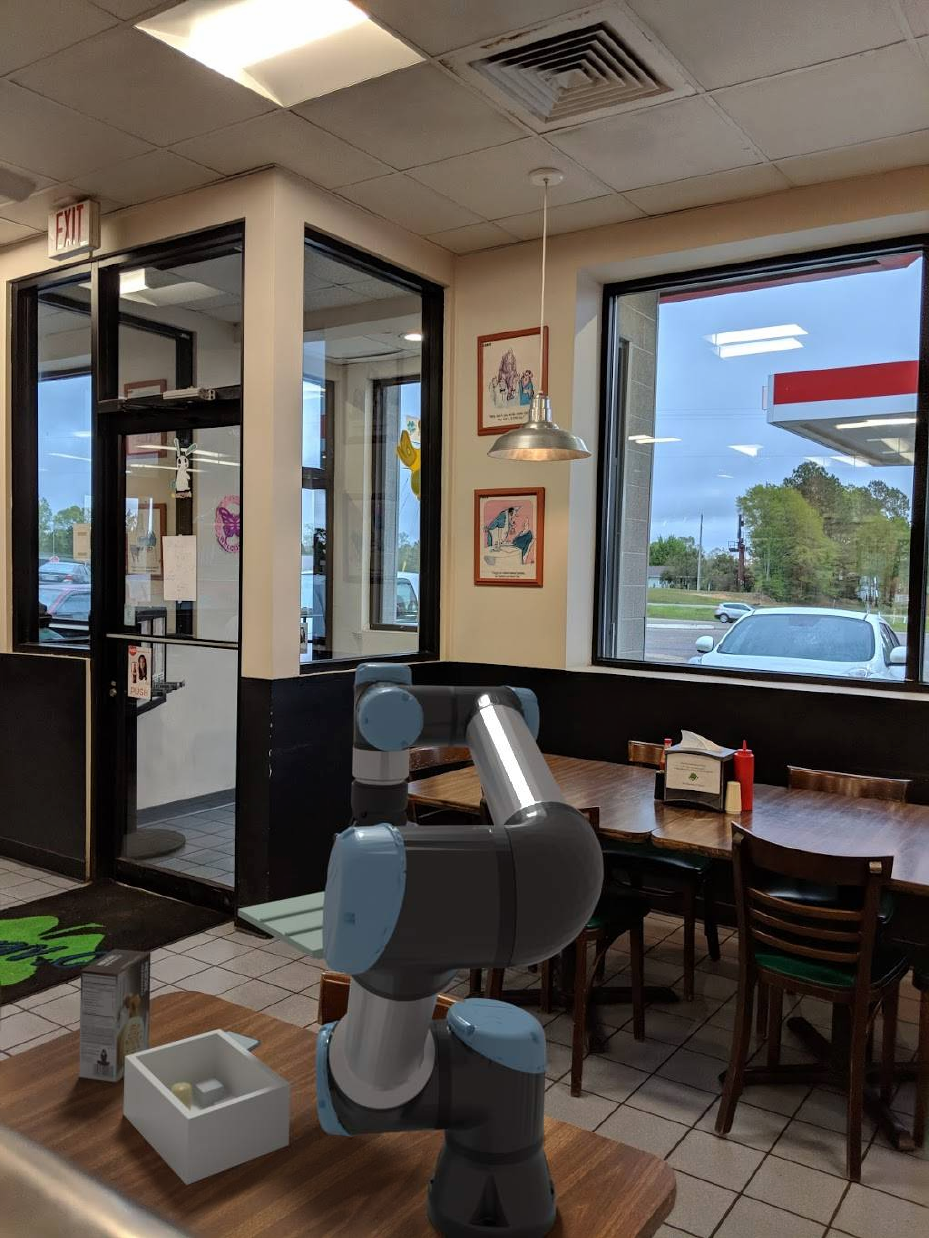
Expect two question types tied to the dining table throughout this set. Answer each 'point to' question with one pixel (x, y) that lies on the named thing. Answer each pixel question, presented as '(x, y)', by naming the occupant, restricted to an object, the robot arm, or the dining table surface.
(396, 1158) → the dining table surface
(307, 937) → the lid
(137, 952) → the coffee box
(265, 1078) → the tub
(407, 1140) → the dining table surface
